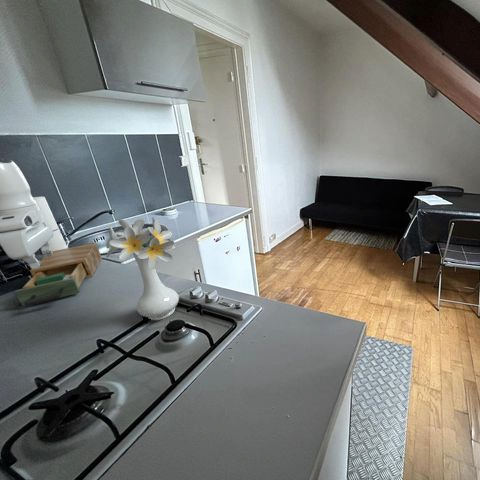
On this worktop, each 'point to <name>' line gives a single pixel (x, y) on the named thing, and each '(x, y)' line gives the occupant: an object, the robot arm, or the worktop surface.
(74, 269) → the drawer
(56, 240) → the cylindrical container
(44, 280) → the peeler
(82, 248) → the cabinet
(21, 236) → the robot arm
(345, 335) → the worktop surface
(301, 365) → the worktop surface
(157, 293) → the flower vase
